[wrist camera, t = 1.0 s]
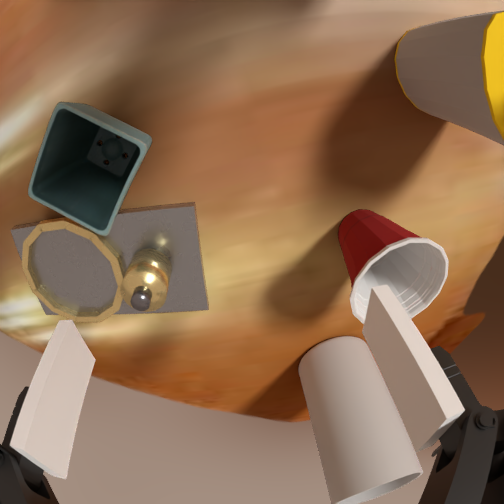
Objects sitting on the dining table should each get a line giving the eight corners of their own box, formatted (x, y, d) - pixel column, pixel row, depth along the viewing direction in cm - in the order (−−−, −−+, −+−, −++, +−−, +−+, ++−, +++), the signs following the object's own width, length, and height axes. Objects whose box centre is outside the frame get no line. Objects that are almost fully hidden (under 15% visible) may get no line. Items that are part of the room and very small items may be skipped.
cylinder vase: (361, 322, 44) (427, 463, 23) (370, 363, 50) (419, 479, 29) (287, 352, 46) (323, 503, 24) (308, 388, 52) (339, 509, 30)
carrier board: (13, 222, 30) (-19, 252, 23) (194, 197, 32) (187, 230, 25) (50, 312, 38) (31, 348, 31) (209, 306, 39) (208, 351, 33)
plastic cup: (298, 243, 36) (328, 310, 25) (356, 172, 32) (413, 215, 21) (357, 280, 40) (394, 343, 29) (408, 221, 36) (463, 271, 25)
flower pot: (169, 129, 28) (149, 145, 20) (132, 200, 31) (106, 239, 23) (98, 94, 25) (57, 99, 17) (67, 167, 28) (25, 195, 20)
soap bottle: (388, 7, 22) (541, -22, 4) (469, 40, 23) (603, 58, 5) (385, 112, 28) (544, 169, 10) (464, 130, 30) (594, 191, 11)
